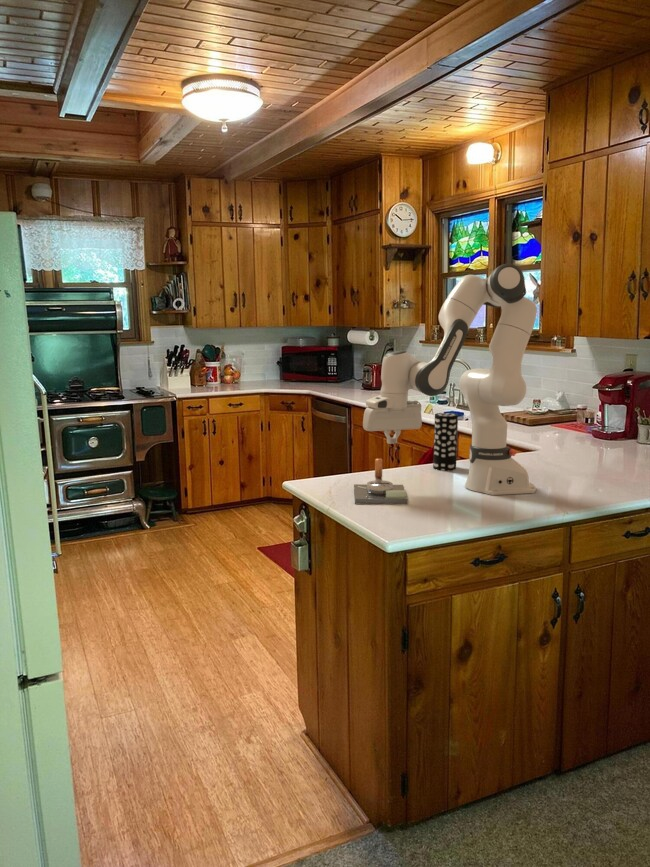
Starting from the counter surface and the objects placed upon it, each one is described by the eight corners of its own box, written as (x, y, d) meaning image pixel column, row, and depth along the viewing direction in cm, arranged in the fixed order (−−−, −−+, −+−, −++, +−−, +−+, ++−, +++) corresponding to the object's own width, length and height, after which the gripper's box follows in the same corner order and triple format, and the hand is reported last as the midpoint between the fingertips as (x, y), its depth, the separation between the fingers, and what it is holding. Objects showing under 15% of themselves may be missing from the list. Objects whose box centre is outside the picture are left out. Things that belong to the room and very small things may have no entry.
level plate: (402, 489, 229) (402, 479, 228) (407, 504, 212) (407, 493, 212) (353, 488, 229) (353, 479, 229) (354, 503, 213) (355, 493, 212)
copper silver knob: (390, 483, 229) (390, 458, 228) (393, 494, 216) (393, 468, 215) (366, 483, 230) (366, 458, 228) (367, 494, 217) (367, 468, 215)
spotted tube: (431, 469, 255) (433, 415, 251) (435, 464, 263) (437, 412, 259) (454, 471, 252) (456, 417, 249) (457, 466, 260) (459, 413, 256)
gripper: (416, 399, 232) (414, 439, 235) (361, 400, 224) (359, 443, 227) (426, 401, 227) (424, 443, 229) (370, 403, 218) (368, 446, 221)
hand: (391, 443), depth 228 cm, fingers closed
